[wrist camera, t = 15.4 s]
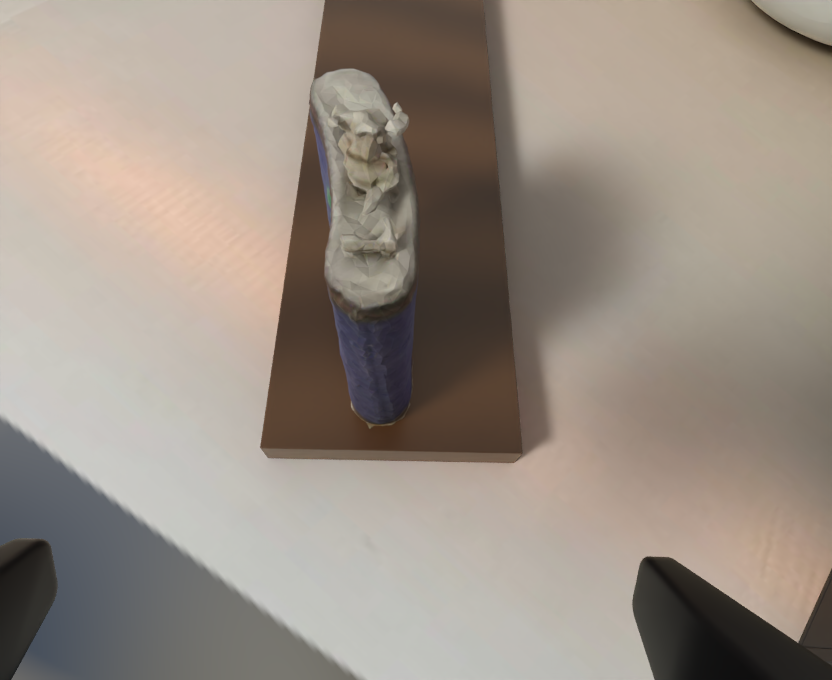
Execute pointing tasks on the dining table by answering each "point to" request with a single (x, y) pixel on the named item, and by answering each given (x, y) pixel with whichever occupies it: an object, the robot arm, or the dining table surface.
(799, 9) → the serving bowl
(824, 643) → the open box
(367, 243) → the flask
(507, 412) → the board
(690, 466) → the dining table surface
